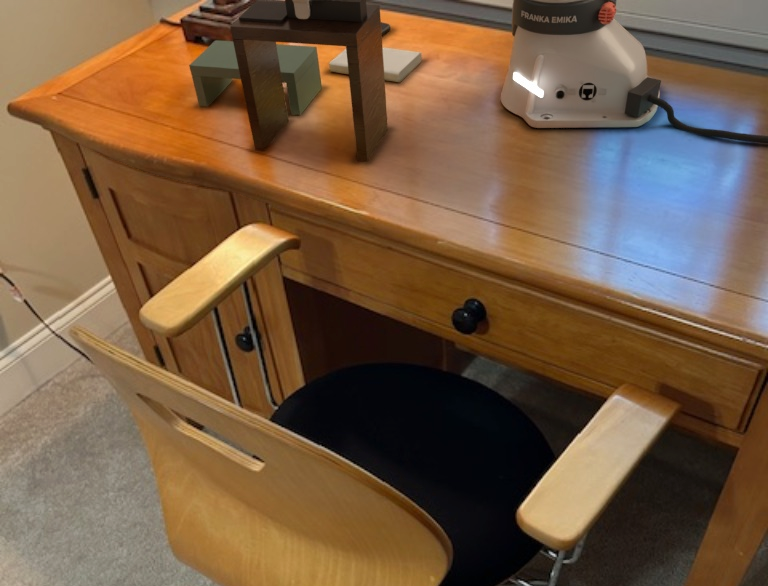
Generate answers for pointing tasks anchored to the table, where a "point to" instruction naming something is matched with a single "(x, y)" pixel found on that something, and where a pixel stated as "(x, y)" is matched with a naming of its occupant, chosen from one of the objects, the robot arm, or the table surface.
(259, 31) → the high shelf
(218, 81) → the low shelf
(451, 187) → the table surface
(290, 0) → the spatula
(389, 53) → the hard drive
